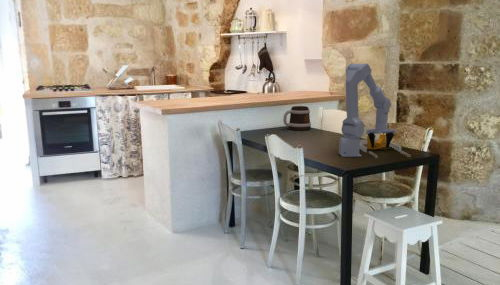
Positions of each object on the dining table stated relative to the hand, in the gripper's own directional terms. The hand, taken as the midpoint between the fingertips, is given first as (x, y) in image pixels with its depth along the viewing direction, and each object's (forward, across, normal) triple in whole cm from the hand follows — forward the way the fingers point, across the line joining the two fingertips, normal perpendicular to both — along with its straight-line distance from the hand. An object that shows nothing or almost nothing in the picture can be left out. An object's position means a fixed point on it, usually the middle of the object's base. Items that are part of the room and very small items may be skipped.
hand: (379, 147), depth 223 cm
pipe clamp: (+2, +1, +6) cm, 6 cm away
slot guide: (+1, 0, -13) cm, 13 cm away
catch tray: (+1, 0, +5) cm, 5 cm away
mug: (+2, -31, +68) cm, 75 cm away
